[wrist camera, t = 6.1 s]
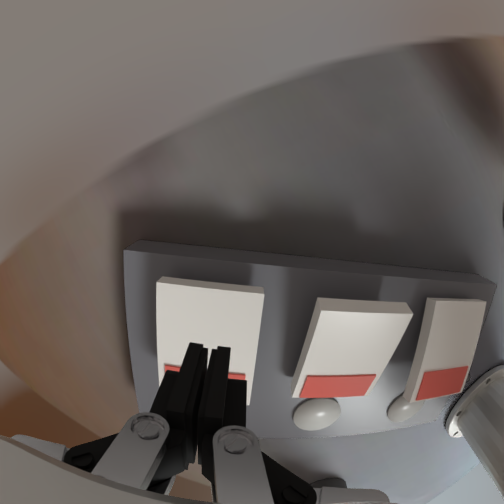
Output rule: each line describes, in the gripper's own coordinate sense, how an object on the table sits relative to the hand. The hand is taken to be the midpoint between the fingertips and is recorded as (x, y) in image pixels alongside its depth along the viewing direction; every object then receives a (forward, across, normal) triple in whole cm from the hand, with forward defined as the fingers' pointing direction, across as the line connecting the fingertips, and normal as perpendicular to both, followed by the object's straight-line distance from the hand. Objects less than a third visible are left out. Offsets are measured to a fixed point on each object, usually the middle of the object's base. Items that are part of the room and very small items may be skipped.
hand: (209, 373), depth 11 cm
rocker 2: (+6, -8, +2) cm, 10 cm away
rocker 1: (+6, +1, +2) cm, 6 cm away
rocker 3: (+6, -17, +2) cm, 18 cm away
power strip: (+11, -11, +5) cm, 16 cm away
